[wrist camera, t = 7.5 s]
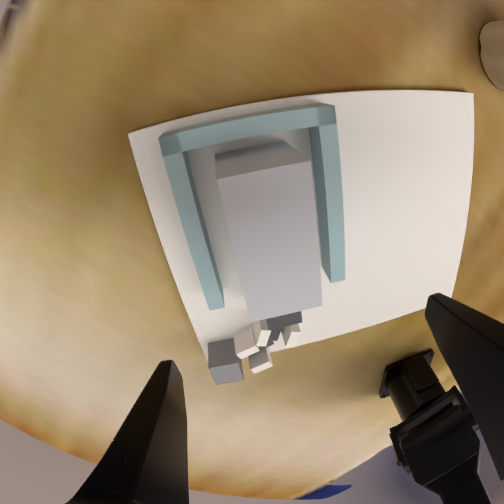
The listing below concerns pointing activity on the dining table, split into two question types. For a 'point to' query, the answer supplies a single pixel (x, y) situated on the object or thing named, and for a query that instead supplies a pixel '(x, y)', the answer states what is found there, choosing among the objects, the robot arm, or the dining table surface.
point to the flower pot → (493, 52)
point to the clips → (261, 343)
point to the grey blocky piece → (230, 359)
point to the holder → (248, 125)
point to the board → (354, 205)
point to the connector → (272, 230)
